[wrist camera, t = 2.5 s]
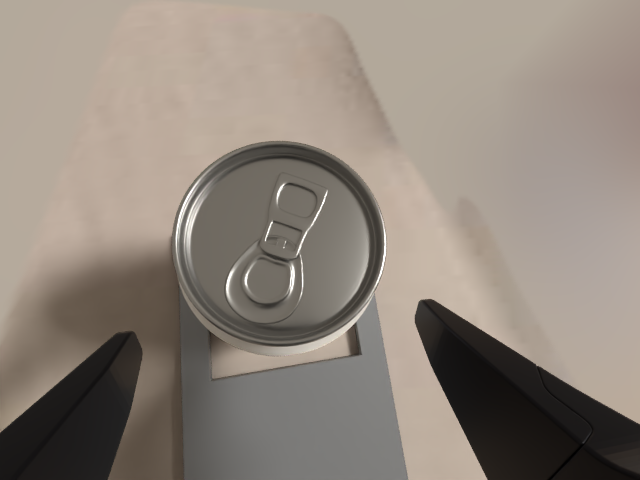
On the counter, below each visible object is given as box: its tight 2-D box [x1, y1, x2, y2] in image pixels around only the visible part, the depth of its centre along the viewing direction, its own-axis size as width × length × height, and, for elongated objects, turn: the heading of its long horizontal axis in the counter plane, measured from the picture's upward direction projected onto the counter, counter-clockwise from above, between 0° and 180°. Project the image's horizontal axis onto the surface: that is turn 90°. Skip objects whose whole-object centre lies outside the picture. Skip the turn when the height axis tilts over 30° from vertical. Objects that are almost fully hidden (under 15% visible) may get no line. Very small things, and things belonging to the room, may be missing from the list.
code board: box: [179, 284, 408, 480], centre depth 18 cm, size 16×12×1 cm
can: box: [172, 141, 386, 356], centre depth 14 cm, size 6×6×12 cm
